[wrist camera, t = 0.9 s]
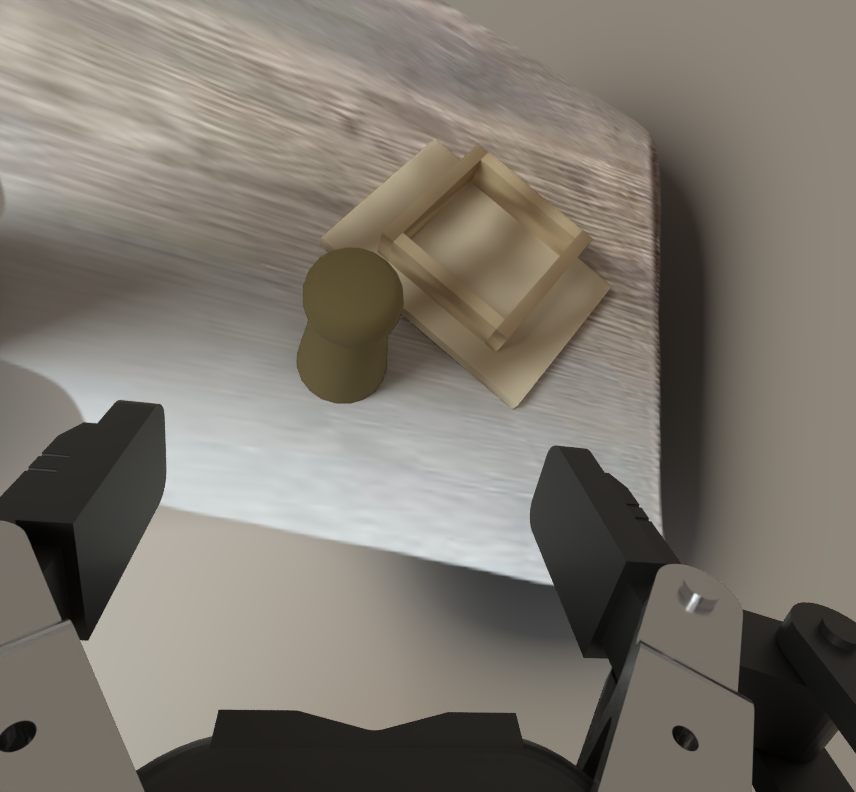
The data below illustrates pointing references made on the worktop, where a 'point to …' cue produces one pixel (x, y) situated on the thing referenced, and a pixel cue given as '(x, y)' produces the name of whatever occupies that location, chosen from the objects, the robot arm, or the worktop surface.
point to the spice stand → (478, 263)
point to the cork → (348, 324)
